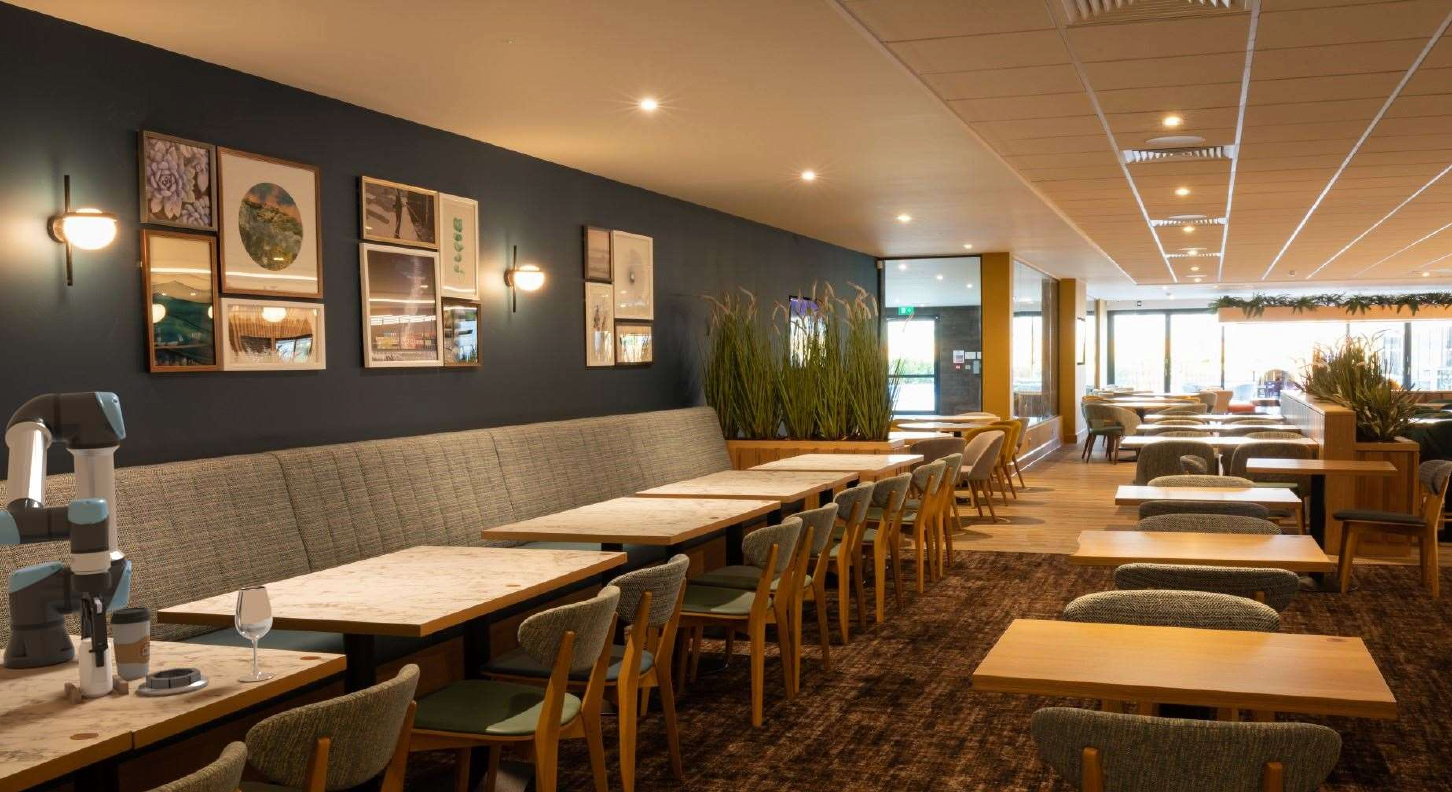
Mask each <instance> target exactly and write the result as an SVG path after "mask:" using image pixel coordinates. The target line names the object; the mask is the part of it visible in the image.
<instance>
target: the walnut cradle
mask: <svg viewBox="0 0 1452 792" xmlns="http://www.w3.org/2000/svg"><path fill="white" fill-rule="evenodd" d="M112 681H113V689H114V690H115V691H116V692H118V693H119V694H120V695H121V696H127V695H129V694H130V688H129V685H130V684H129V682H128V681H126V680H124V679H123V678H121V677H120V676H118V674H112ZM81 695H82V694H81V691H80V688H78V687H76V685H74V684H73V683H72V682H65V683H64V696H65V697H67V699H68V700H70V701H71V702H72V703H73V704H74V705H77V704H81V703H82V696H81Z"/></svg>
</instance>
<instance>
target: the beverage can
mask: <svg viewBox="0 0 1452 792" xmlns="http://www.w3.org/2000/svg"><path fill="white" fill-rule="evenodd" d="M80 642H81V643H80V645H79V646H78V649H77V654H78V671H79V672H78V673H79V690H80V691H81V695H82V696H84V697H86V698H98V697H104V696H107V695H108V694H109V693H110V692H112V691H113V689H114V688H113V681H112V675H113V665H112V645H111V643H110V642H109V641H108V649H106V667H107V681H104V682H98V683H92V665H91V653H89V650H92V643H91V637H90V638H86V639H83V640H81V639H80Z"/></svg>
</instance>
